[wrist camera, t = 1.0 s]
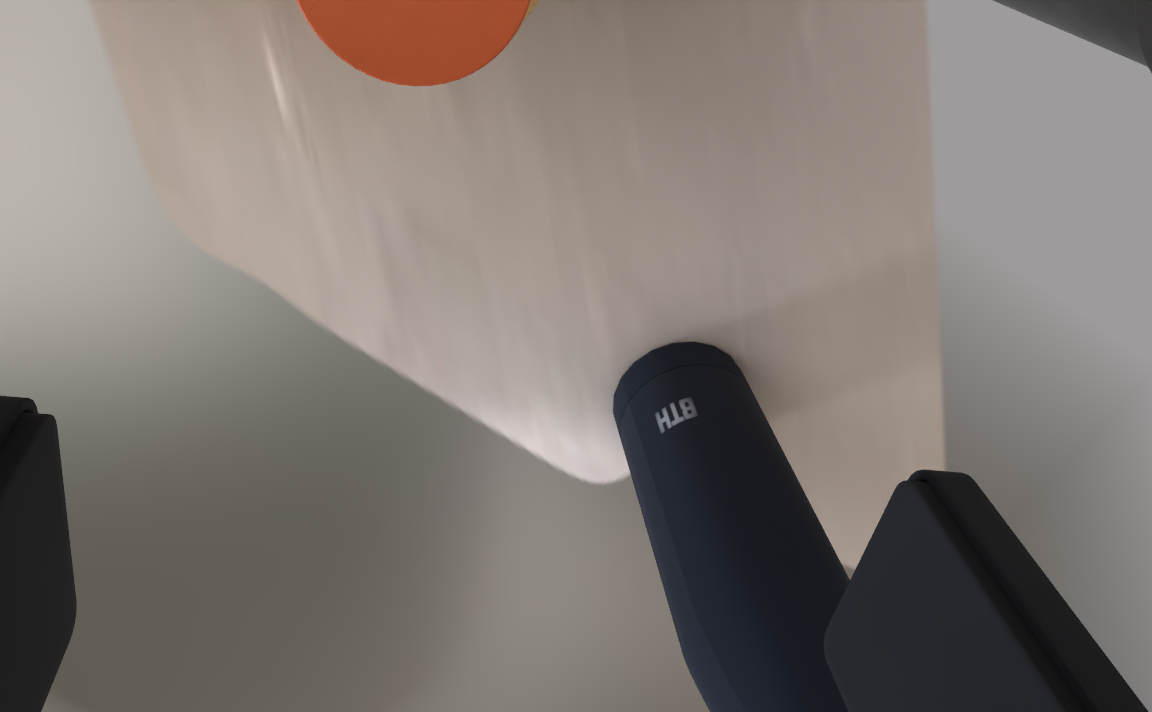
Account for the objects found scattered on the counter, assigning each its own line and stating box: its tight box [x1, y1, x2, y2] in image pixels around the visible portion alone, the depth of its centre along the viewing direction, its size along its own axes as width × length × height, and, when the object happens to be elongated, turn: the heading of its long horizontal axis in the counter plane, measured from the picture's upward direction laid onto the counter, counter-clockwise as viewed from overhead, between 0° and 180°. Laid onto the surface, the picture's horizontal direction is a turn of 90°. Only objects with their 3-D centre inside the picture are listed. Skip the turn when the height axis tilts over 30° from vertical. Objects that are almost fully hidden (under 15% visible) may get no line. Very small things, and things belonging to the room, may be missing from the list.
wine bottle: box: [613, 342, 850, 712], centre depth 32 cm, size 6×6×30 cm
